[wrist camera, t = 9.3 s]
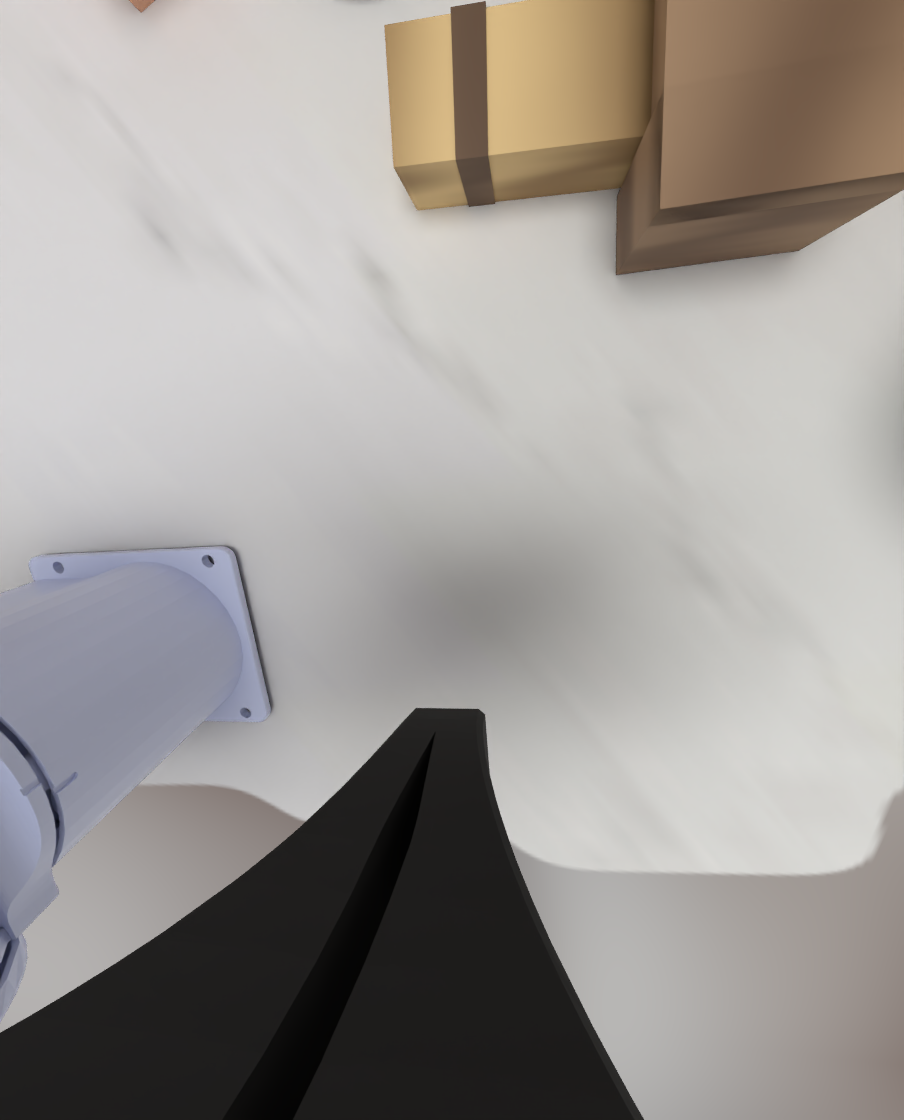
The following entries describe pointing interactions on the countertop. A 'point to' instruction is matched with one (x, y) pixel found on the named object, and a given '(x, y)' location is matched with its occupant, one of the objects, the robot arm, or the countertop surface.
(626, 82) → the tan wooden bar
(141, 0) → the loose bead
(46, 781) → the robot arm
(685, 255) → the brown block
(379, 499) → the countertop surface
